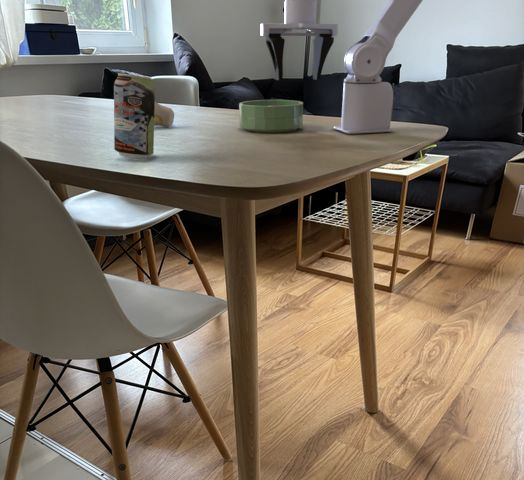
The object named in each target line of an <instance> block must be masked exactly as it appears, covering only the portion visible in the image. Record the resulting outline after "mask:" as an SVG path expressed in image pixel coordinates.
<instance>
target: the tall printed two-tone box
mask: <svg viewBox="0 0 524 480" xmlns="http://www.w3.org/2000/svg"><path fill="white" fill-rule="evenodd" d="M155 87H156V86H155V85H154V84H153V81H152V77H148V76H142V75H134V74H128V73H127V74H126V73H120V72H119V73H117V77H116V78H115V80H114V82H113V119H114V120H113V130H114V131H113V134H114V135H113V136H114V137H113V139H114V142H113V143H114V145H113V146H114V148H113V149H114V151H116V152H117V153H118V155H119V156H121V157H125V158H131V159H149V157H150V156H152V155H153V154H154V151H155V149H154V147H155V146H154V145H155V126H154V111H155V102H156V88H155Z"/></svg>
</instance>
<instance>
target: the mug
mask: <svg viewBox="0 0 524 480" xmlns="http://www.w3.org/2000/svg"><path fill="white" fill-rule="evenodd" d="M174 119H175V112H174V110H173V108H171V107H169V106H166V105H165V106H164V105H162V104H160V103H158V102H157V101H155V111H154V127H164V128H169V127H171V126H173V124H174Z"/></svg>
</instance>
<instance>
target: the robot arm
mask: <svg viewBox="0 0 524 480" xmlns="http://www.w3.org/2000/svg"><path fill="white" fill-rule="evenodd" d="M423 1H424V0H389V1H388V3H387V4H386V5H385V7H384V8H383V9H382V11H381V13H380V14H379V15H378V17H377V18H376V20H375V21H374V23H373V24H372V25H371V26H370V27H369V28H368V29H367V31H365V33H364V34H363V36H362V37H361V38H360V40H358V41H357V42H355V43H353V44H352V45H350V46H349V47H348V48H347V51H346V53H345V55H344V59H343V65H344V69H345V71H346V72H347V75H346V77H345V78H343V89H342V102H341V103H342V104H341V105H342V107H341V119H340V120H341V121H340V125H335V126H333V129H334V130H336V131H339V132H341V133H345V134H350V135H353V134H354V135H355V134H369V133H390V132H392V128H391V121H392V113H393V104H394V103H393V102H394V89H393V86H392V84H391V83H390V82H388V81H382V77H381V76H380V75H381V74H382V72H383V71H384V69H385V65H386V62H387V58H388V56H389V54H390V52H391V51H392V49H393V47H394V45H395V42H396V39H397V37H398V36H399V34H401V32H402V30H403V29H404V28H405V26H406V25H407V23H408V22H409V20H410V19H411V18H412V16H413V15H414V13H415V12H416V10H418V8H419V7H420V5H421V4H422V3H423ZM316 16H317V0H284V22H283V23H282V22H281V23H278V22H275V23H274V22H273V23H271V22H269V23H268V22H267V23H266V22H265V23H264V22H263V23H260V36H261V37H264V41H265V45H266V47H267V50H268V51H269V54H270V57H271V60H272V61H271V62H272V65H273V69H274V76H275V80H276V81H283V78H284V73H283V72H284V62H283V61H284V51H285V50H284V49H285V42H286V39H285V38H283V36H284V37H315V38H313V39H312V45H313V47H312V48H313V68H312V80H313V81H320V80H321V76H322V70H323V68H324V65H325V62H326V59H327V56H328V54H329V52H330V50H331V48H332V46H333V44H334V41H335V37H338V31H339V24H337V23H316V19H317V18H316ZM293 30H307V32H292V31H293Z"/></svg>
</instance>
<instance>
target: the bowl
mask: <svg viewBox="0 0 524 480" xmlns="http://www.w3.org/2000/svg"><path fill="white" fill-rule="evenodd" d="M270 105H276V106H270ZM238 113H239V116H238V117H239V127H240V128H241V129H245V130H246V131H248V132H253V133H261V134H262V133H263V134H266V133H267V134H271V133H272V134H274V133H275V134H276V133H288V132H294V131H296V130H297V129H300V128H302V127H303V123H304V122H303V121H304V102H303V101H301V100H293V99H291V100H289V99H257V100H246V101H241V102H239V103H238Z"/></svg>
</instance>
